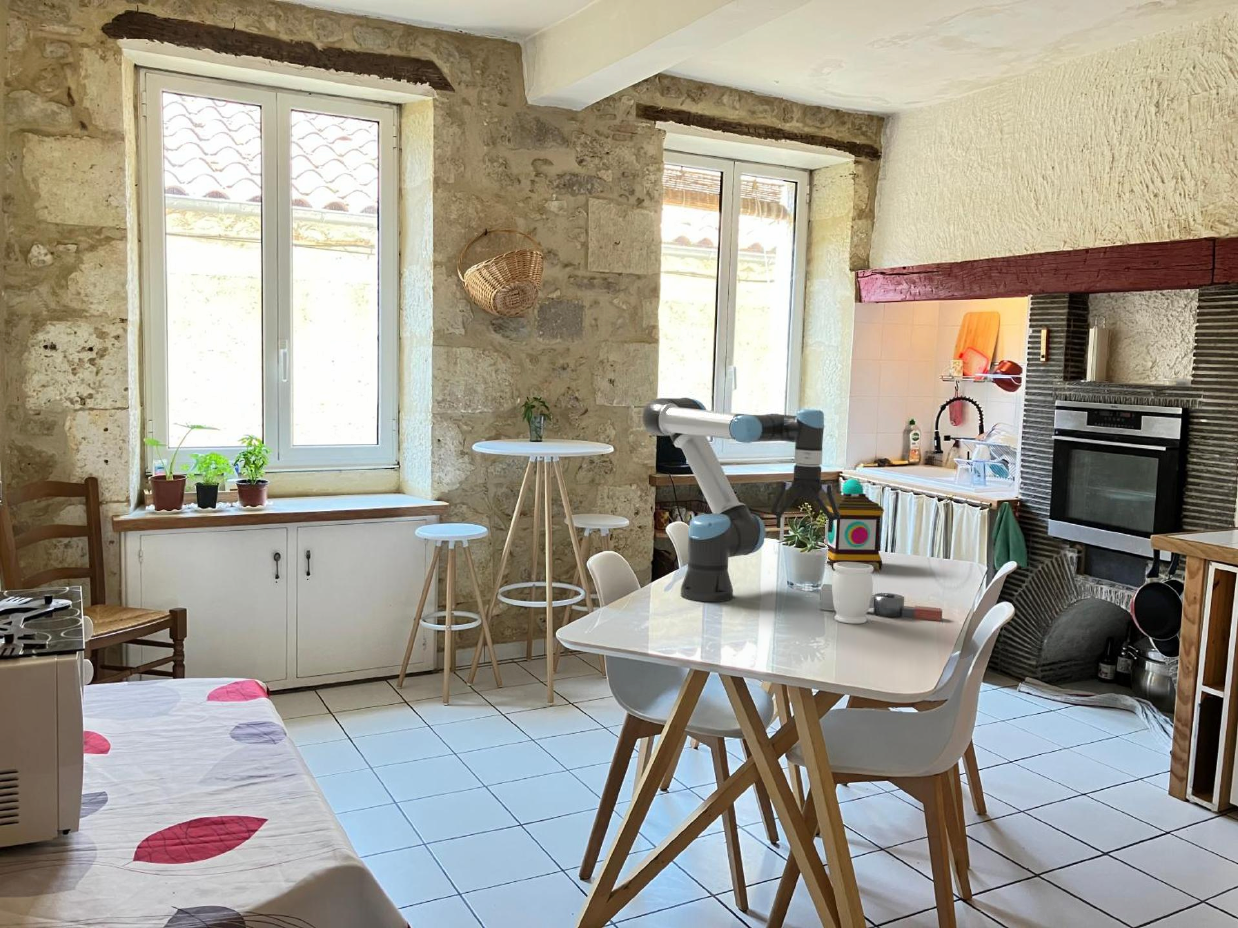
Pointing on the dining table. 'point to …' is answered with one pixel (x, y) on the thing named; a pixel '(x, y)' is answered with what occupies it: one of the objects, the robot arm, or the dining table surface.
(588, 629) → the dining table surface
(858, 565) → the jar
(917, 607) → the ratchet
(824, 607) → the grey cube
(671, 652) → the dining table surface
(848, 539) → the decorative lantern
